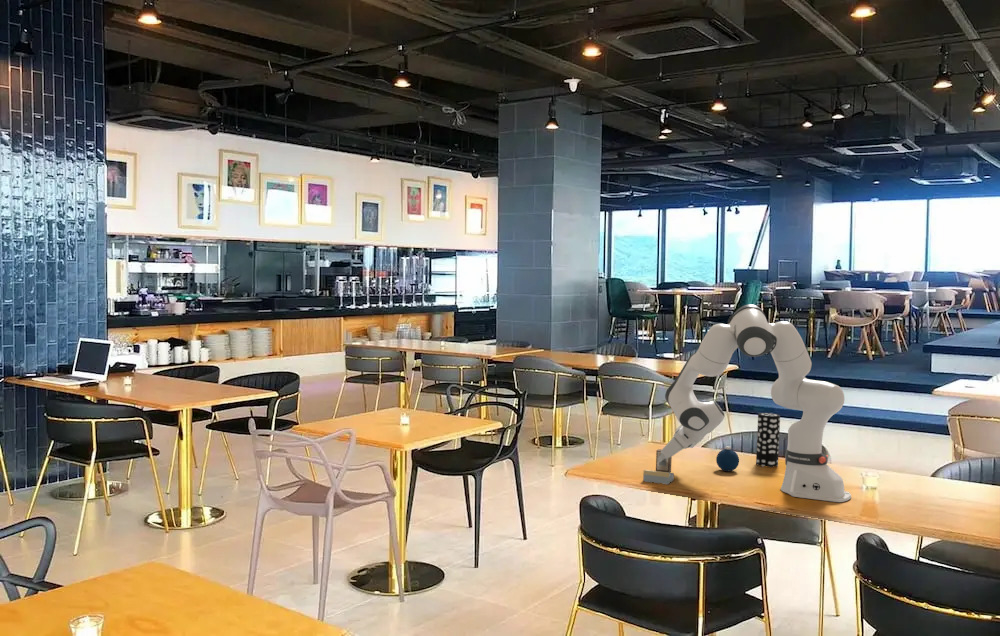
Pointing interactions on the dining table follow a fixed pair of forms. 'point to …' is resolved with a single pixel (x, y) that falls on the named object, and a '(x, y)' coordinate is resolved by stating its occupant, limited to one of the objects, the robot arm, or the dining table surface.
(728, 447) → the christmas ornament
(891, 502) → the dining table surface
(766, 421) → the spotted tube
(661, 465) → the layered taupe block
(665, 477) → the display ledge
